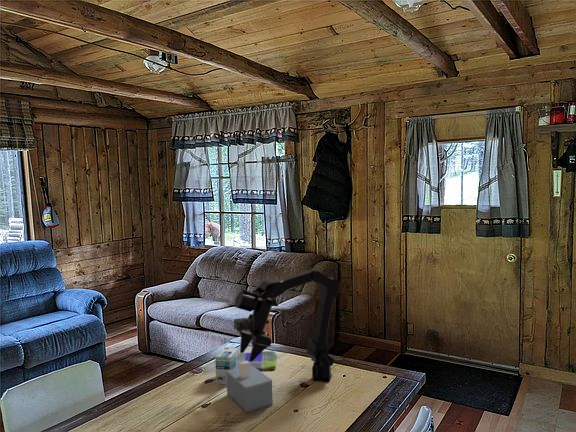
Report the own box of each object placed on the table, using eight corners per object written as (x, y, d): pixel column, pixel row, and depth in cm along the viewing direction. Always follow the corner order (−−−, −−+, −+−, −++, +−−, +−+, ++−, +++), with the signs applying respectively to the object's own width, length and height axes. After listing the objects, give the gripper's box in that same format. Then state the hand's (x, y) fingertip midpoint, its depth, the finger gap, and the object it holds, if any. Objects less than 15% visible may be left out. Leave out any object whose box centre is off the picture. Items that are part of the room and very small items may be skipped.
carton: (252, 388, 170) (251, 367, 169) (272, 405, 156) (271, 382, 156) (227, 395, 165) (226, 373, 164) (246, 413, 151) (245, 390, 151)
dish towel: (275, 372, 185) (275, 365, 185) (215, 373, 185) (215, 366, 185) (277, 356, 202) (277, 349, 202) (222, 357, 203) (222, 351, 203)
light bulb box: (232, 385, 173) (231, 357, 172) (215, 384, 175) (214, 356, 174) (240, 373, 184) (239, 347, 183) (224, 372, 185) (223, 346, 184)
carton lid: (251, 366, 170) (250, 351, 169) (272, 382, 156) (271, 366, 155) (226, 373, 165) (225, 357, 164) (245, 390, 150) (245, 373, 150)
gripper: (232, 303, 169) (217, 344, 167) (250, 315, 152) (234, 361, 150) (258, 310, 173) (244, 350, 172) (278, 323, 157) (263, 367, 155)
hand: (245, 356), depth 162 cm, fingers open, 9 cm apart
